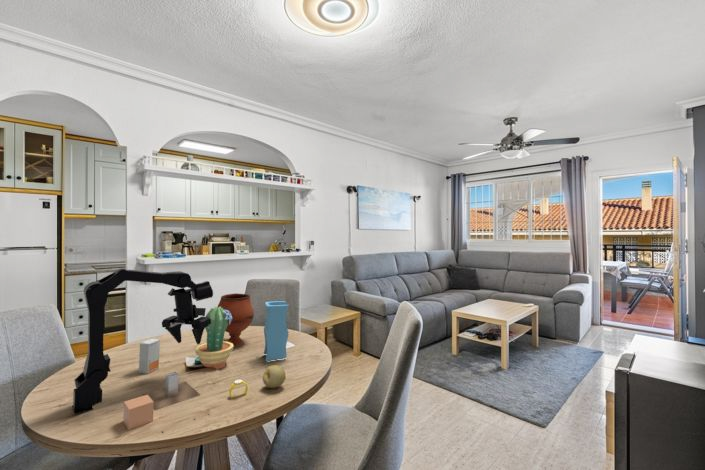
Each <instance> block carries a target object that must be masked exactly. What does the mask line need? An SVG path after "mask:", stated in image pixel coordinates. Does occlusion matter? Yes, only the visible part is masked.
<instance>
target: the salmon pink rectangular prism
mask: <svg viewBox="0 0 705 470" xmlns="http://www.w3.org/2000/svg"><path fill="white" fill-rule="evenodd" d="M153 405H154V402H153V400H152V399H151V398H150V397H149V396H148V395H145V396H143V395H141V396H138V397H136V398H132V399H129V400H125V401H123V423H124V425H125V426H126V428H127V430H128V431H129V430H131V429H134V428H135V429H136V428H137V427H141V426H143V425H146V424H149V423H151V422H153V421H154V409H153Z"/></svg>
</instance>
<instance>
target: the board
mask: <svg viewBox="0 0 705 470" xmlns="http://www.w3.org/2000/svg"><path fill="white" fill-rule="evenodd" d="M145 395H148V396H149V397H150V398H151V399H152V400H153V402H154V405H153V412H154V411H157V410H160V409H164V408H167V407H170V406H172V405H176V404H179V403H181V402H185V401H186V400H187V401H188V400H190V399H194V398H196V397H200V396H201V394H200V393H199V391H197V390H196V389H195V388H194V387H192V386H191V385H190V384H189V383H188V382H187V381H183V382H180V383H179V382H178V395H176V396H172V397H169V398H168V397H167V396H166V395H165V387H163V388H159V389H157V390H153V391H150V392H146V393H143V394H141V396H145Z"/></svg>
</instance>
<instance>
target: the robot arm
mask: <svg viewBox="0 0 705 470" xmlns="http://www.w3.org/2000/svg"><path fill="white" fill-rule="evenodd" d="M125 281H128V282H139V283H140V282H141V283H154V284H163V285H167V286H172V287H175V288H177V289H175V288H171V289H170V290H169V291H168V293H167V295H168V296H170V297H173V296H174V303H175V304H174V305H175V308H173V312H174V313H175V312H176V315H171V316H169V317H167V318H164V319H162V322H161V327H162V328H164V329H165V331H166V330H167V332H168V333H169V334H170V335H171V336H172V338H174V340H175V341H176V342H177V343H178V344H181V343H182V331H181V328H182V325H190V326H191V328H192V329H191V332H192V335H193V337H194V340H195V343H196V345H201V341H202V339H203V338H202V337H203V334H204V331H205V330H206V329H205V327H207V326H208V325H209V324H211V318H210V317H206V309H207V308H206V307H197V305H196V304H194V303H193V300H195V301H196V302H199V301H202V300H206V299H210V298H213V297H214V290H213V287H212V285H211V283H210V281H208V280H205V281H202V282H198V283H195V282H194V280H192V277H191V275H190V274H189V273H187V272H184V271H181V270H180V271H179V270H177V271H168V272H167V271H165V272H158V271H147V270H138V269H137V270H136V269H126V268H118V269H117V270H115V271H114V272H112V273H110V274H108V275H106V276H104V277H103V278H101V279H99V280H97V281H95V280H94V281H91V282H89V283H87V284H86V285H85V286H84V288H83V295H84V296H83V297H84V298H85V299H84V300H85V304H86V306H87V307H86V308H87V311H88V313H87V314H88V316H87V318H88V321H87V325H88V326H87V328H88V329H87V331H88V332H87V340H88V341H87V343H88V344H87V355H86V359H85V361H84V366H83V370H82V372H80V374H79V375H78V376H77V377H75V379H74V381H73V382H74V386H75V388H73V393H72V394H73V397H72V405H71V408H72V412H73V414H74V415H77V414H81V413H84V412H88V411H91V410H93V409H94V408H93V406H95V405H97V404H100V403H102V402H103V389H102V387H101V384H102V382H104V381H105V380H106V379H107V377H108V375H109V372H111V368H110V366H111V365H110V364H111V358H110V356H109V354H105V353H104V310H105V307H106V304H107V302H108V297H109V296H108V295H109V293H111V292H112V291H113V290H115V289H116V288H117V287H119V286H120V285H121V284H123V283H125ZM186 288H187V289H186ZM199 316H200V317H199Z"/></svg>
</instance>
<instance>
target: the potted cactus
mask: <svg viewBox="0 0 705 470" xmlns="http://www.w3.org/2000/svg"><path fill="white" fill-rule="evenodd" d="M217 307H218V306H214V307H211V308H210V309H209V311H207V313H206V314H205V317H210V318H211V324H209V325H208V326H207V327H205V329H204V330H205V331H206V342H205V343H202V344H201V343H200V344H198V345H197V346H196V347H195V355H197V357H198V359H199V362H200V363H201V364H202V366H203V367H205V368H214V369H216V370H218V369H221V368H224V367H225V366H226V362H227V360H228V359H229V358H230V355H231V352H232V351H233V350H234V346H233V343H230V342H227V341H224V339H225V334H226V331H225V330H226V328H227V324H228V319H229V324H230V323H231V321H232V315H231V313H230V312H229V311H228V310H223V308H221V307H218V308H217Z"/></svg>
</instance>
